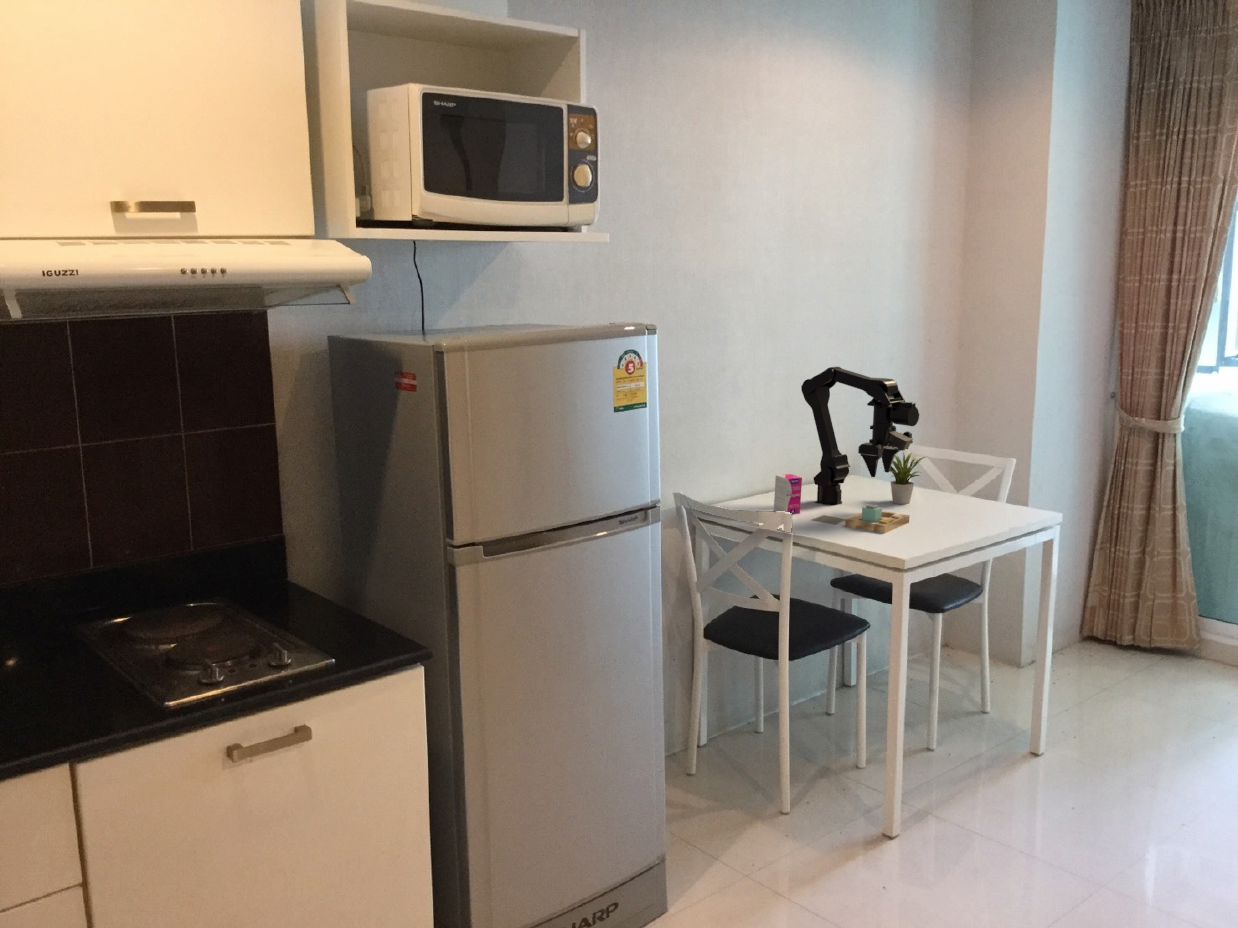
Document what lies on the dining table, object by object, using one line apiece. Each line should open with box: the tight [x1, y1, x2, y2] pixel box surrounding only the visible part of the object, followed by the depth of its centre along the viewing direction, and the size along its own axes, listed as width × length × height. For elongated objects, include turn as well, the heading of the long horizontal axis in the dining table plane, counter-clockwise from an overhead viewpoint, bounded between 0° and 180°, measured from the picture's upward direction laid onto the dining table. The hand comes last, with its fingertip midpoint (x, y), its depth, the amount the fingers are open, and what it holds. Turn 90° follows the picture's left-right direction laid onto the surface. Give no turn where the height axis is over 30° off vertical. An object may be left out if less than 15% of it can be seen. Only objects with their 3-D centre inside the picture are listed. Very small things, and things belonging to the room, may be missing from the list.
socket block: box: [844, 510, 911, 534], centre depth 304 cm, size 12×16×3 cm
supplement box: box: [773, 473, 803, 515], centre depth 316 cm, size 6×6×12 cm
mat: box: [811, 514, 846, 526], centre depth 309 cm, size 8×8×1 cm
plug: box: [861, 504, 883, 523], centre depth 300 cm, size 4×4×7 cm
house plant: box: [883, 452, 927, 505], centre depth 333 cm, size 14×14×16 cm
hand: (880, 474), depth 315 cm, fingers open, 9 cm apart
